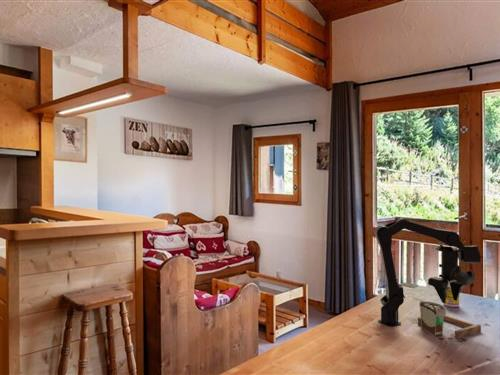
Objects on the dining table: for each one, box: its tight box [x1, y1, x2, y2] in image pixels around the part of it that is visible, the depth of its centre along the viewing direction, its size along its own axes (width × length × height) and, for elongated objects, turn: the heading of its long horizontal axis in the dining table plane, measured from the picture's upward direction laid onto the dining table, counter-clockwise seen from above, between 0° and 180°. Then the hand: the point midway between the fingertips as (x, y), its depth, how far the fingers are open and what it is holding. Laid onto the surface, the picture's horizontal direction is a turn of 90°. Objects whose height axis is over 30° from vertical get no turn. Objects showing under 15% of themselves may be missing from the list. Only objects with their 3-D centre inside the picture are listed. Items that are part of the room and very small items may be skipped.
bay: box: [417, 314, 482, 339], centre depth 146 cm, size 14×17×2 cm
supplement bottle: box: [443, 283, 460, 308], centre depth 173 cm, size 7×7×13 cm
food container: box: [419, 300, 447, 337], centre depth 142 cm, size 12×6×10 cm, turn 5°
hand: (449, 301), depth 146 cm, fingers open, 7 cm apart
